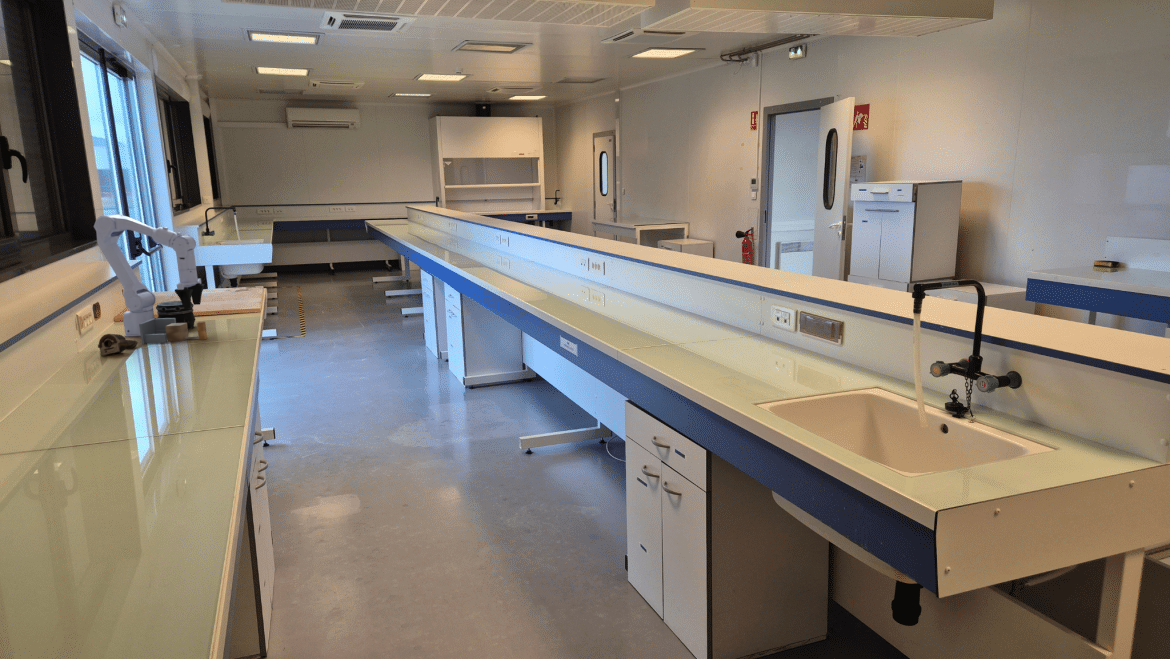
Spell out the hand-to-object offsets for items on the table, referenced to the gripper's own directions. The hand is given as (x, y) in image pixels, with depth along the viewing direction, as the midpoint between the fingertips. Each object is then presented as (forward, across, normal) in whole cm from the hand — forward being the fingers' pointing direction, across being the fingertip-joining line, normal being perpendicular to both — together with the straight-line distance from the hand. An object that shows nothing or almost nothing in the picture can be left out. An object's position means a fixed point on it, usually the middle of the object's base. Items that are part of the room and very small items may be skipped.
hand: (192, 306), depth 268 cm
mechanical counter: (+10, -29, +11) cm, 32 cm away
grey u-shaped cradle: (+10, -12, +7) cm, 17 cm away
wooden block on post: (+10, -12, -3) cm, 16 cm away
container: (+10, +10, +11) cm, 18 cm away
